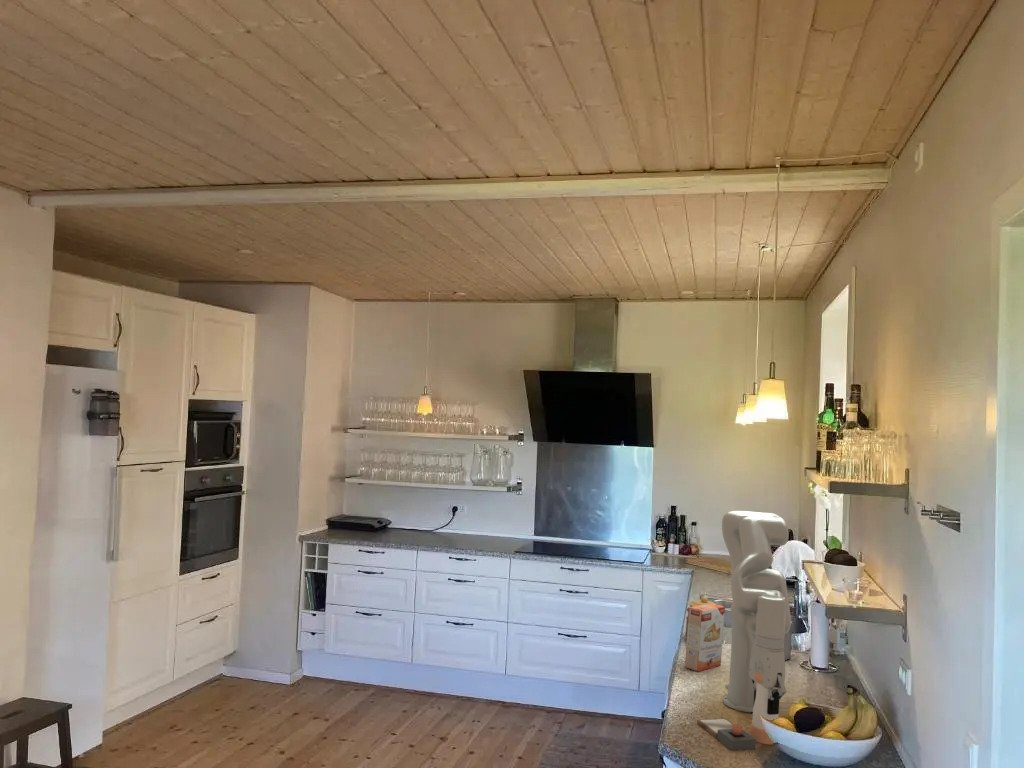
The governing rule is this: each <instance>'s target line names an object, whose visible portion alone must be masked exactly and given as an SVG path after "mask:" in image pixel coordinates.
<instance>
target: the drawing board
mask: <svg viewBox="0 0 1024 768" xmlns="http://www.w3.org/2000/svg"><path fill="white" fill-rule="evenodd" d="M697 723H698V724H697ZM696 724H697V725H698V726H699V727H701V728H702V729H704V730H705V731H706V732H707V733H709V734H710V735H712V737H713V738H715V739H717V735H718V730H720V729H732V724H734V723H733V722H731V721H730V720H728V719H727V718H724V717H723V718H722V717H721V718H706V719H704V718H703V719H697V721H696Z"/></svg>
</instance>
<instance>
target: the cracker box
mask: <svg viewBox="0 0 1024 768" xmlns="http://www.w3.org/2000/svg"><path fill="white" fill-rule="evenodd" d="M725 610H726V607H725V606H723V605H721V604H716V603H715V604H713V603H710V604H705V605H699V606H693V607H690V606H689V616H688V615H687V616H688V630H687V641H686V647H685V660H684V667H685V668H687V669H689V670H692V671H694V672H701V671H704V670H709V669H713V668H717V667H720V666H722V664H721V663H722V653H723V637H724V626H725V625H724V624H725Z"/></svg>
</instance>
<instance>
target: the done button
mask: <svg viewBox="0 0 1024 768" xmlns="http://www.w3.org/2000/svg"><path fill="white" fill-rule="evenodd" d="M742 730H743V725H742V724H739V723H733V724H732V734H734V735H742Z"/></svg>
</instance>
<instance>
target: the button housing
mask: <svg viewBox="0 0 1024 768" xmlns="http://www.w3.org/2000/svg"><path fill="white" fill-rule="evenodd" d="M716 739H717V740H718V741H719V742H720V743H721V744H723V745H724V746H725V747H727V749H729V750H730V751H743V750H742V749H748V750H756V743H757V742H756V739H755V738H753V737H752V736H751V735H750V734H749V733H748V732H747V731H745V730H743V729H742V735H734V734H732V729H720V730H718V735H717V738H716Z"/></svg>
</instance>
